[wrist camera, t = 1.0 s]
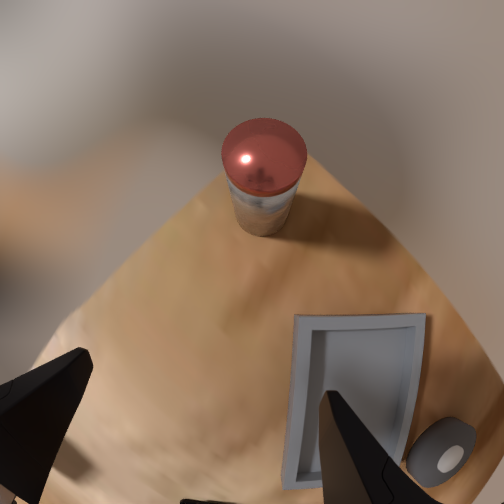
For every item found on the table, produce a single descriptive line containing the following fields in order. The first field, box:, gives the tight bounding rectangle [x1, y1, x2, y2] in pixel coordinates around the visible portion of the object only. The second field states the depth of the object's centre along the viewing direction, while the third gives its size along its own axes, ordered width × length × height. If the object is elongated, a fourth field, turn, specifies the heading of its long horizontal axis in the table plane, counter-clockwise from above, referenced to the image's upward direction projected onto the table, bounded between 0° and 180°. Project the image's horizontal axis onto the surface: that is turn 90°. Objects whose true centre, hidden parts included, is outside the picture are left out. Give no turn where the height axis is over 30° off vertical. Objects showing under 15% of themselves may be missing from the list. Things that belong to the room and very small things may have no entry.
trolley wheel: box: [406, 417, 476, 488], centre depth 17 cm, size 8×8×4 cm
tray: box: [281, 313, 426, 490], centre depth 19 cm, size 16×11×2 cm
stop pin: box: [221, 118, 307, 236], centre depth 18 cm, size 4×4×10 cm
